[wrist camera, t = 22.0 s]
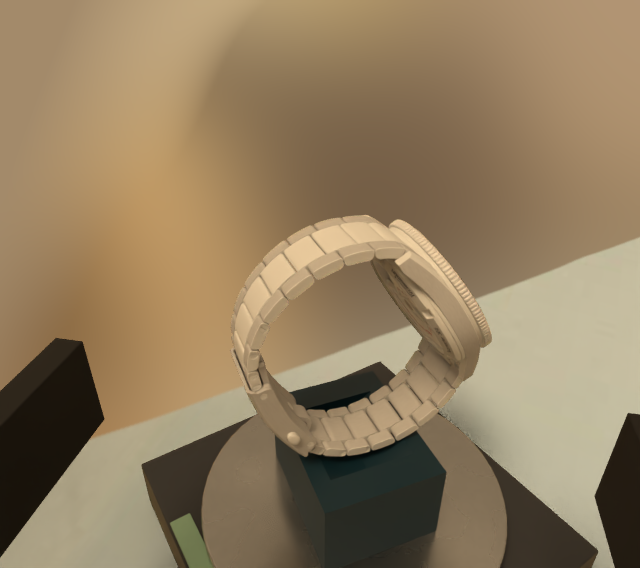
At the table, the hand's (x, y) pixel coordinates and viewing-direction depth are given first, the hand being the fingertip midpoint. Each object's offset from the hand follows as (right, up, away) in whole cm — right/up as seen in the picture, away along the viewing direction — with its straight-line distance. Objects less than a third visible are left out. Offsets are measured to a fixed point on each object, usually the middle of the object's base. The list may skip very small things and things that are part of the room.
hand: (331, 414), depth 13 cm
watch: (+1, -5, +8) cm, 9 cm away
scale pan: (+1, -5, +8) cm, 10 cm away
